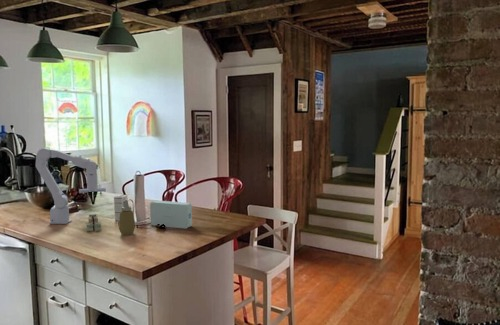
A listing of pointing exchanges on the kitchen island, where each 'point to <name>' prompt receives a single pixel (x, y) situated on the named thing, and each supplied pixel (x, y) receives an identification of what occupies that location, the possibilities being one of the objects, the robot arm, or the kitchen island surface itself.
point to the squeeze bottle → (126, 220)
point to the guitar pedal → (171, 214)
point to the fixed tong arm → (96, 222)
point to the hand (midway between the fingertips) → (93, 204)
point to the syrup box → (119, 205)
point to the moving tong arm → (90, 224)
